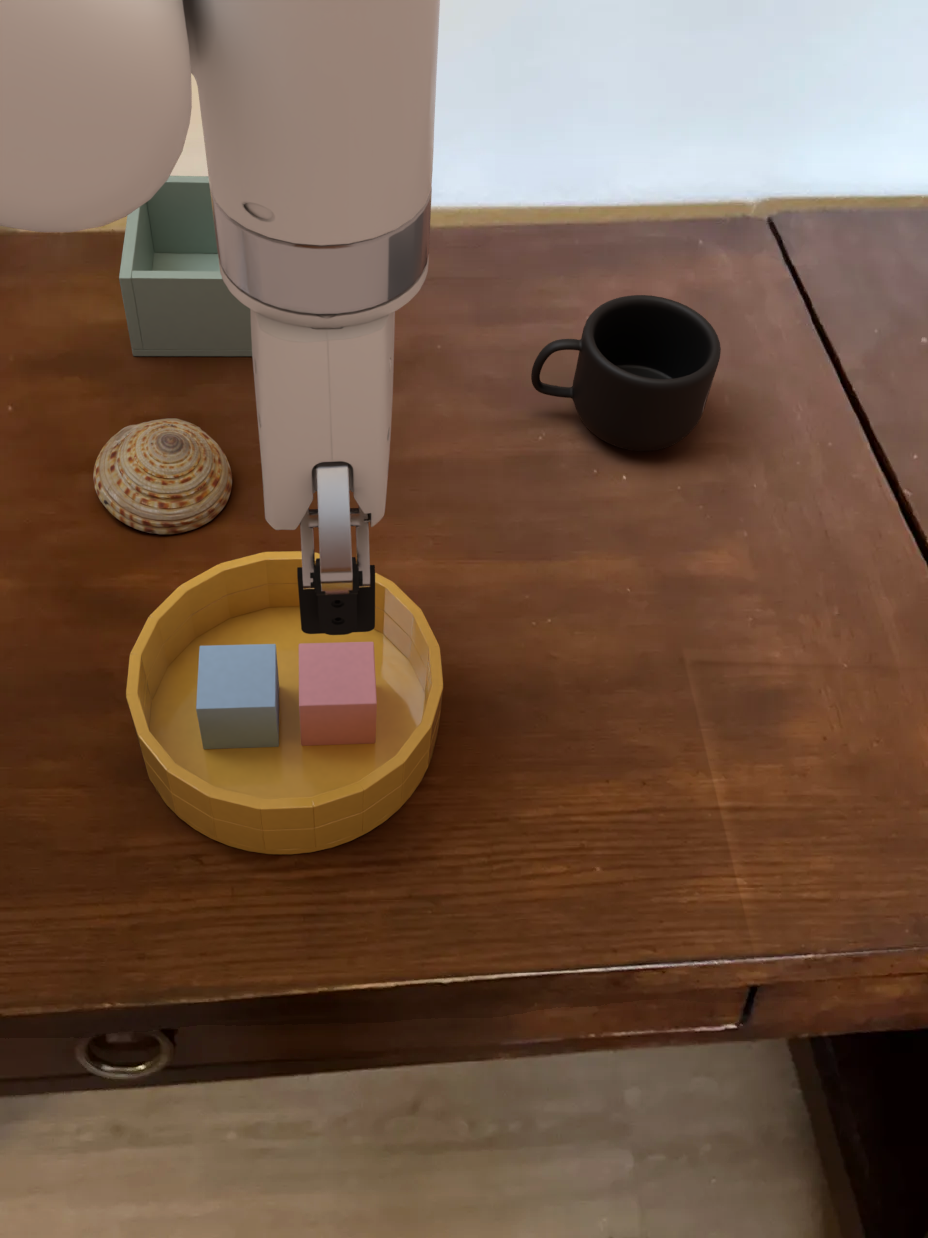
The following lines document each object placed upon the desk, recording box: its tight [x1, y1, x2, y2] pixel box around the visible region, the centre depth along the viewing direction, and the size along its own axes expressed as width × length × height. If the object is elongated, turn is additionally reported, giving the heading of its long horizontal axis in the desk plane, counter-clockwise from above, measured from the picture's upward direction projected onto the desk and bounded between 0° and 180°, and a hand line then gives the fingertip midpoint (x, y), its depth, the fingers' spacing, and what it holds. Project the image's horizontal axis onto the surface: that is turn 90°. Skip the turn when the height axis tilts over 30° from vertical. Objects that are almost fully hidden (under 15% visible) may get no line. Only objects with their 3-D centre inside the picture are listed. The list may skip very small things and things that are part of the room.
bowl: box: [125, 550, 444, 855], centre depth 65 cm, size 16×16×5 cm
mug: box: [530, 294, 722, 452], centre depth 81 cm, size 12×9×7 cm
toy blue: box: [196, 644, 279, 749], centre depth 65 cm, size 4×4×4 cm
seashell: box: [92, 417, 233, 535], centre depth 76 cm, size 8×6×8 cm
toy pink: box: [299, 642, 377, 746], centre depth 65 cm, size 4×4×4 cm
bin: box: [118, 175, 252, 357], centre depth 85 cm, size 12×12×7 cm
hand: (335, 543), depth 56 cm, fingers open, 9 cm apart
